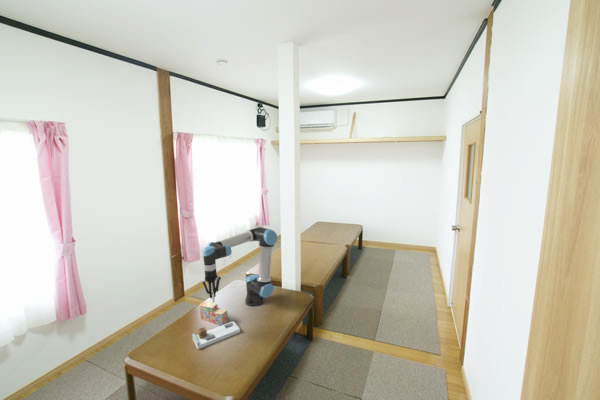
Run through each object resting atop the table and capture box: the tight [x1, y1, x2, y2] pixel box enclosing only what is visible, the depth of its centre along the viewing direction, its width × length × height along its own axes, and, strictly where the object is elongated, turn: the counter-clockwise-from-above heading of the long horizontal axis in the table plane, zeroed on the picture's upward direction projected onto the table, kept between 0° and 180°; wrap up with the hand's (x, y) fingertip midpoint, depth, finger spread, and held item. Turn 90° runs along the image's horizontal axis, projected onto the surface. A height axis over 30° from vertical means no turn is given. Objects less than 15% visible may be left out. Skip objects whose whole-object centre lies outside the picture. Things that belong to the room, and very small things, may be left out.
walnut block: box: [197, 326, 208, 339], centre depth 187 cm, size 4×4×4 cm
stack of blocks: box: [199, 300, 229, 326], centre depth 208 cm, size 21×6×12 cm, turn 64°
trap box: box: [192, 320, 241, 350], centre depth 190 cm, size 29×12×4 cm, turn 125°
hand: (213, 301), depth 193 cm, fingers closed
